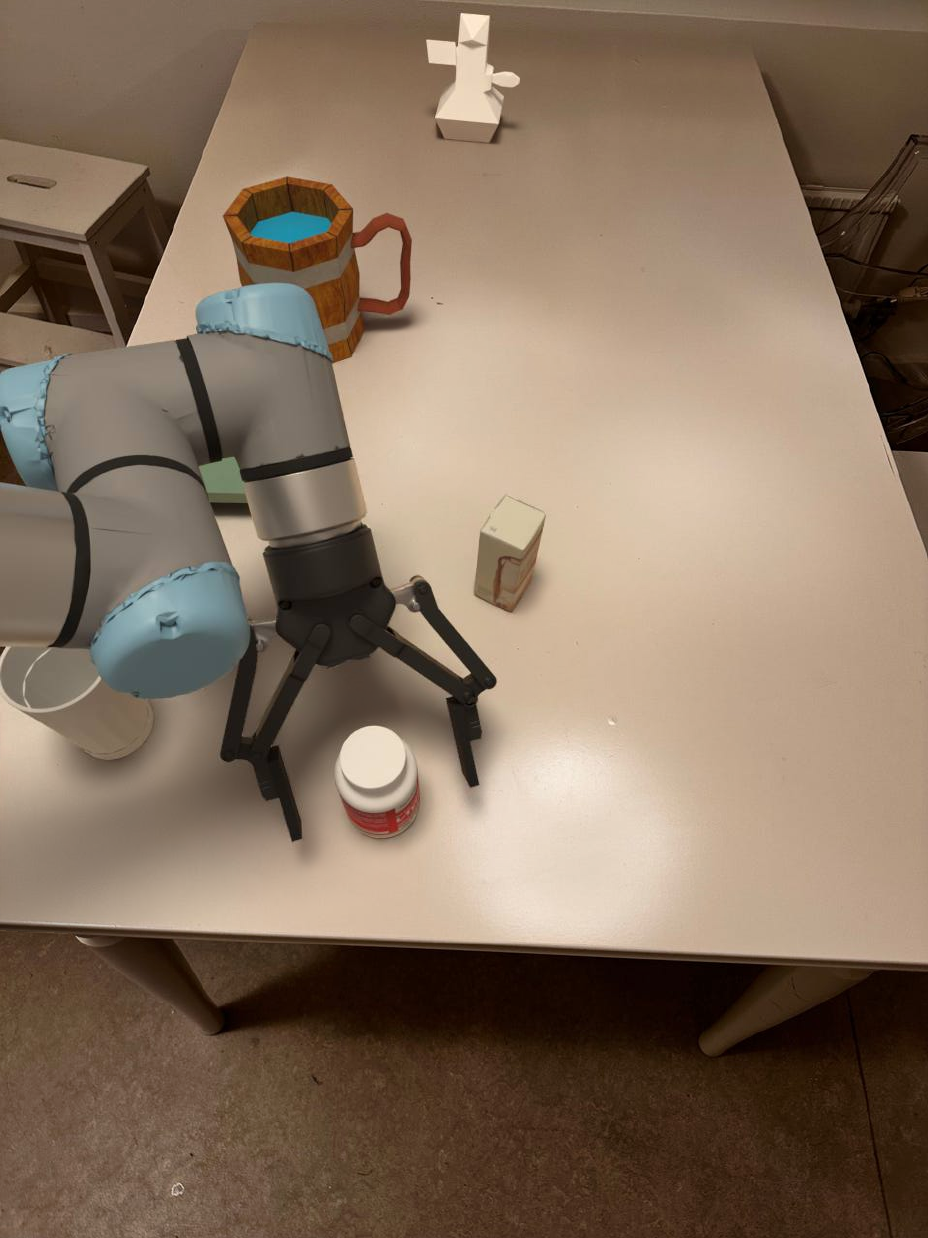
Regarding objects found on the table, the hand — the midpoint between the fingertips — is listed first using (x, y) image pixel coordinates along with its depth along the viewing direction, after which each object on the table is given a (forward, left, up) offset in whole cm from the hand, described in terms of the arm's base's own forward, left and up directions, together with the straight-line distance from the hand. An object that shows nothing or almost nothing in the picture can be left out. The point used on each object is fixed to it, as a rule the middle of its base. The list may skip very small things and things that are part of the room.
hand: (385, 805), depth 56 cm
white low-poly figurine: (+74, +79, -5) cm, 108 cm away
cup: (-13, +22, -5) cm, 26 cm away
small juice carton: (+23, +12, -5) cm, 26 cm away
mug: (+31, +53, -5) cm, 61 cm away
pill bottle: (+1, +2, -5) cm, 6 cm away
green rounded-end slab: (+11, +46, -5) cm, 47 cm away
